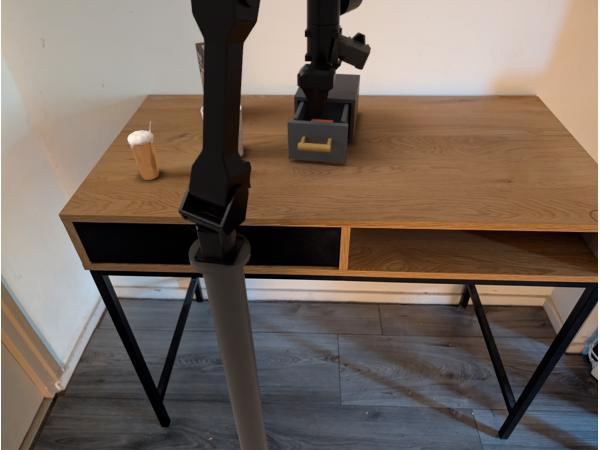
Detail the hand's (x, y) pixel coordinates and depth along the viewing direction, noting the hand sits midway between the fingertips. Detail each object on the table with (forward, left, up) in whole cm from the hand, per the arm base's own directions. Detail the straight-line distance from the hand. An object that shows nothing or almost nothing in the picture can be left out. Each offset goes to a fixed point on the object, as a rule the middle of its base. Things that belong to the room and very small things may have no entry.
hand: (321, 108), depth 84 cm
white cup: (-4, +19, -10) cm, 22 cm away
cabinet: (+12, 0, -9) cm, 15 cm away
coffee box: (+14, +26, -10) cm, 31 cm away
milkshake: (-14, +31, -10) cm, 35 cm away
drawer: (-1, 0, -9) cm, 9 cm away
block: (-1, 0, -7) cm, 8 cm away
